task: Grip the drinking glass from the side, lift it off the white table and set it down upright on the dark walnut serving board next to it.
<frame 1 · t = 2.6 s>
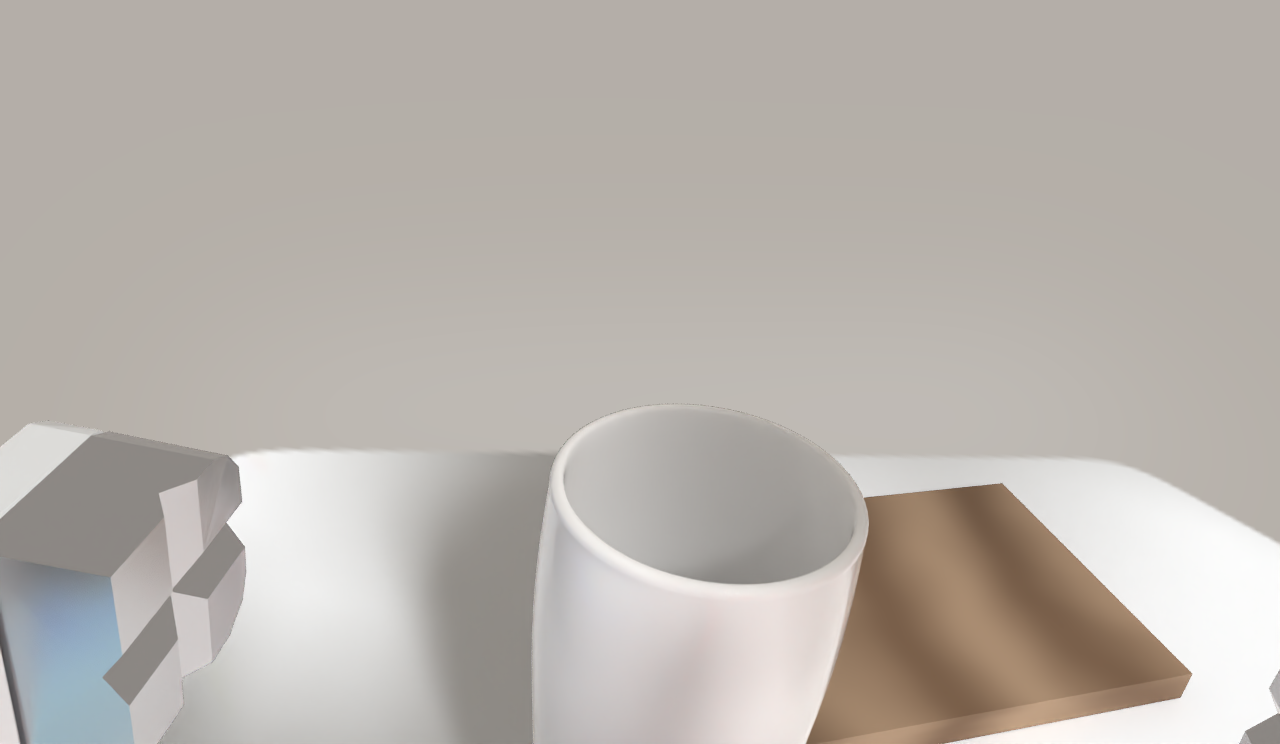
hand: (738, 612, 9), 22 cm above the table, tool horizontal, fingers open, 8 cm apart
walnut board: (889, 618, 42), on the table
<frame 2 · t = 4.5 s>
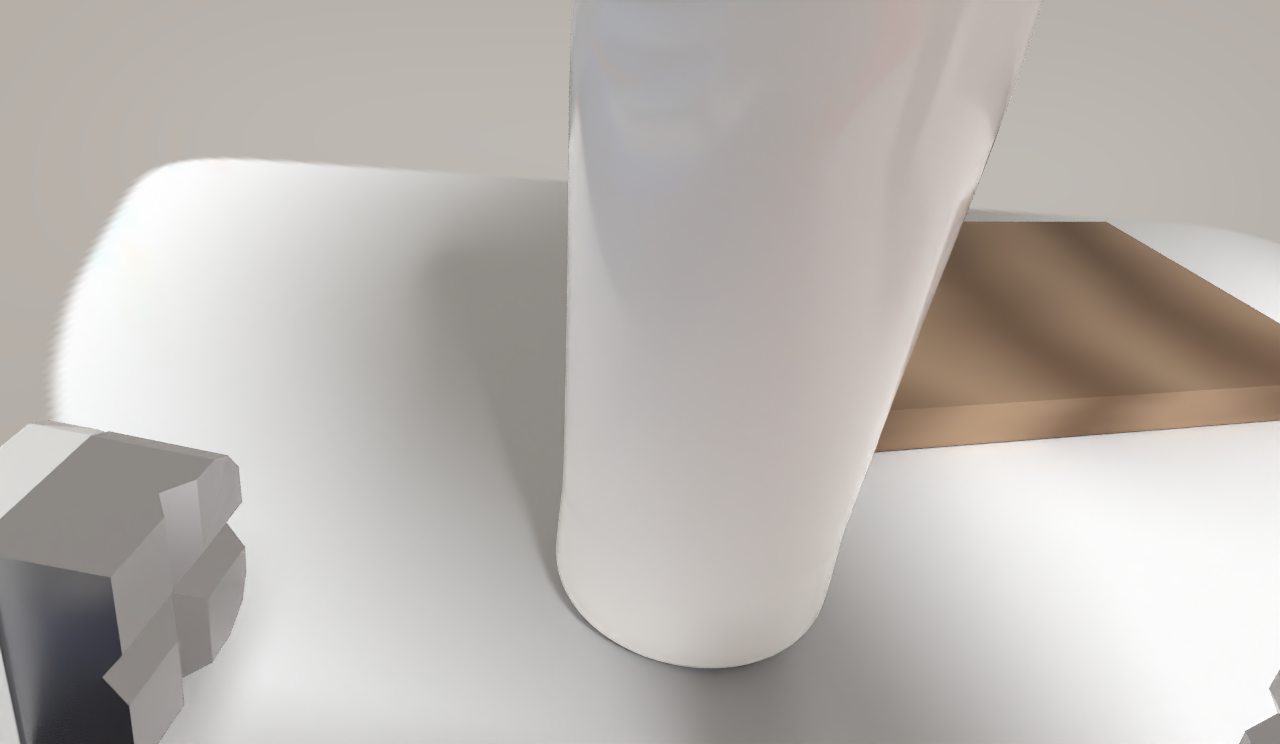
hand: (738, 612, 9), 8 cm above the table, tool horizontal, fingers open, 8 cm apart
walnut board: (989, 330, 35), on the table
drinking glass: (684, 593, 22), on the table
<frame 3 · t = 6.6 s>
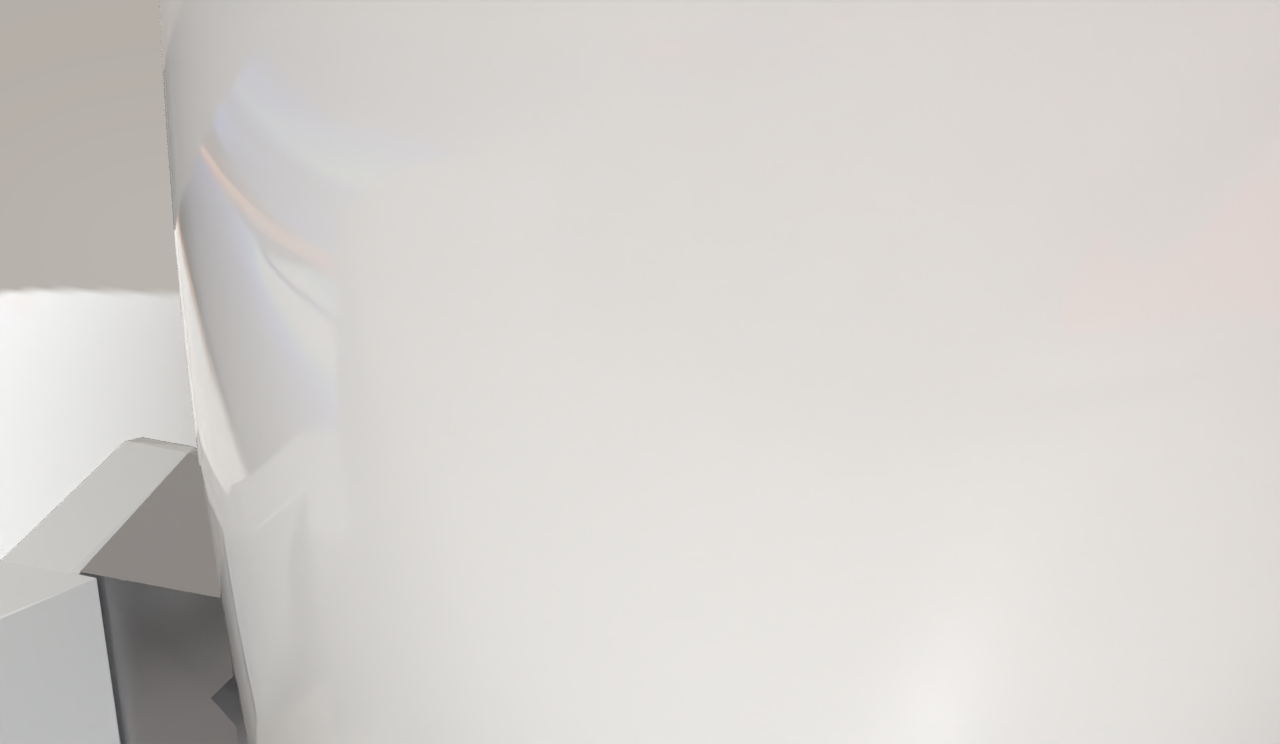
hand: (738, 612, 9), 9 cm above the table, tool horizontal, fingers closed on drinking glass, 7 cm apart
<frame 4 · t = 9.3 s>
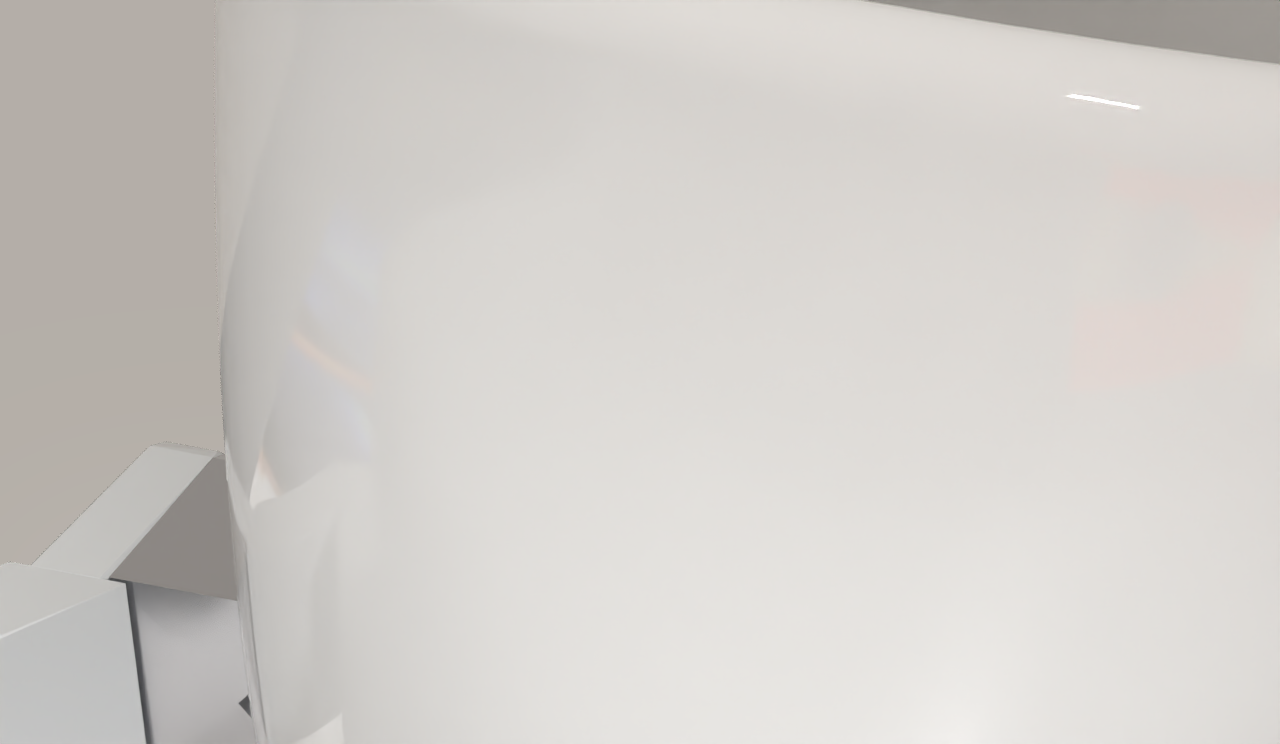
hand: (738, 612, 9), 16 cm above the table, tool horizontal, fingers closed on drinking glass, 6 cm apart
when the fingers open (11 cm above the table, at t = 11.7 s): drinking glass stays where it is, resting on walnut board.
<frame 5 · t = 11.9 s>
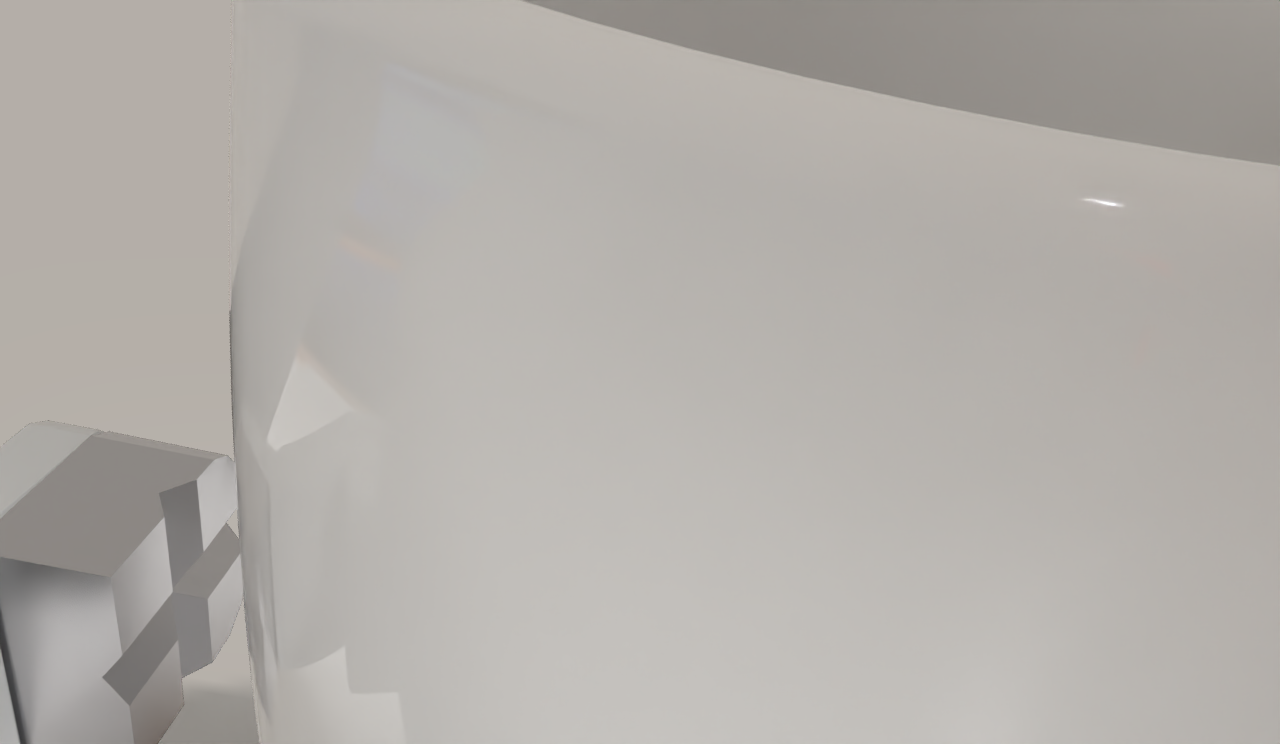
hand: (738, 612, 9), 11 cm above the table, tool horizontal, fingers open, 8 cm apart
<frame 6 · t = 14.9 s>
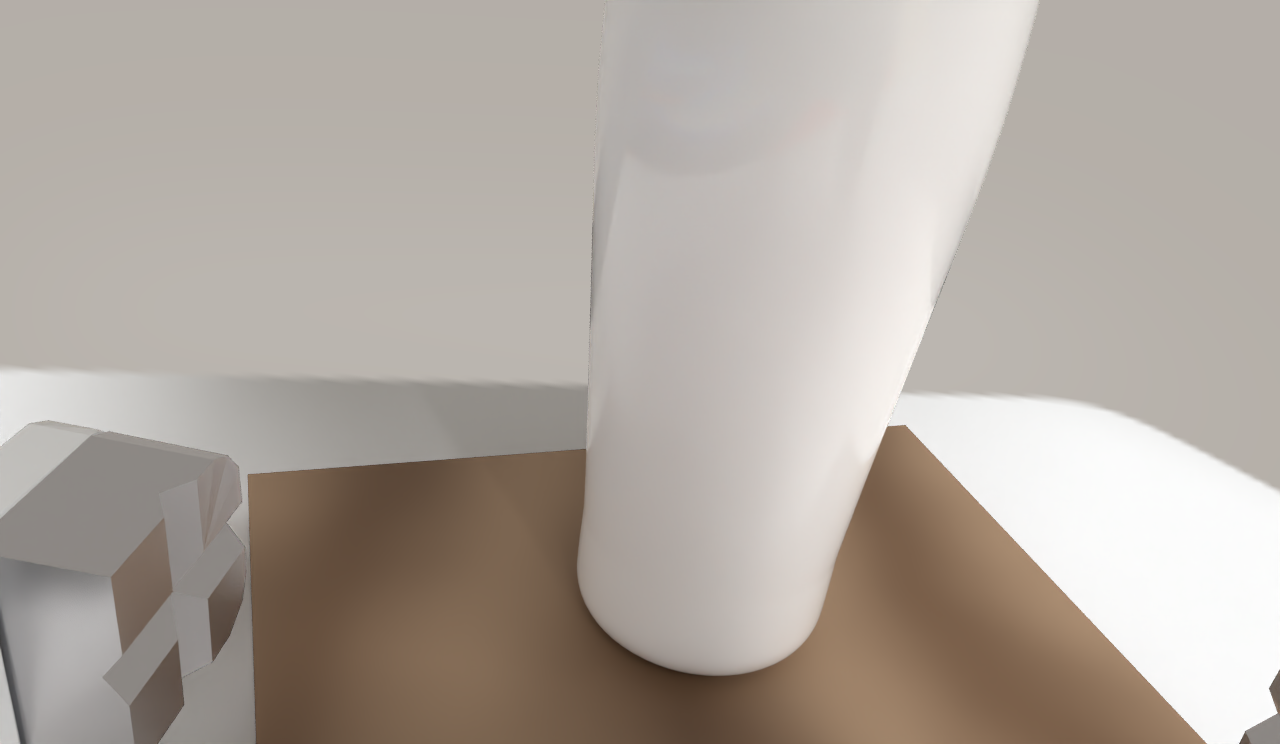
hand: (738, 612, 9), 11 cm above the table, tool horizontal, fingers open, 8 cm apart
walnut board: (681, 639, 25), on the table
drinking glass: (693, 607, 24), point 1 cm above the table, touching walnut board
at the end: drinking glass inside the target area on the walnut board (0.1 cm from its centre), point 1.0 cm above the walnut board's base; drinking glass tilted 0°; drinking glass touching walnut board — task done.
